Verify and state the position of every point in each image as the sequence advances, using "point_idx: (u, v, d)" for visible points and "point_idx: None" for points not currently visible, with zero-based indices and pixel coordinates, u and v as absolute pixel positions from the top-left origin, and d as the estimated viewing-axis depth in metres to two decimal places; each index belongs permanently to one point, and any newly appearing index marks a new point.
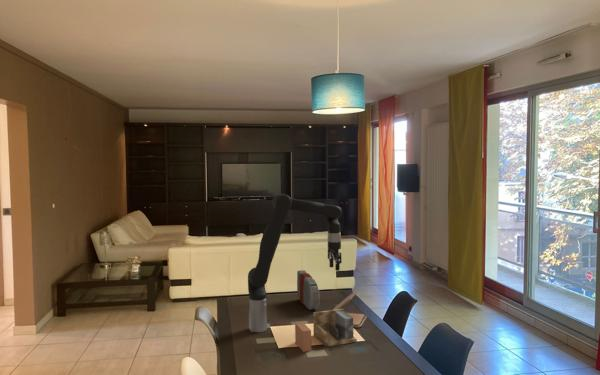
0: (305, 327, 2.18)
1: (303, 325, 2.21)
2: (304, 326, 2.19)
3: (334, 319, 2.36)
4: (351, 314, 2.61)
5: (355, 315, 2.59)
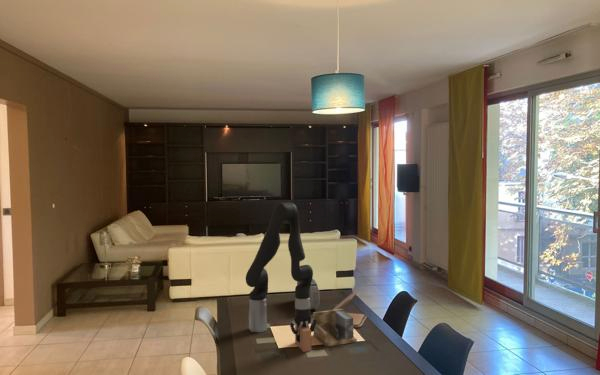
0: (305, 327, 2.18)
1: None
2: None
3: (334, 319, 2.36)
4: (351, 314, 2.61)
5: (355, 315, 2.59)
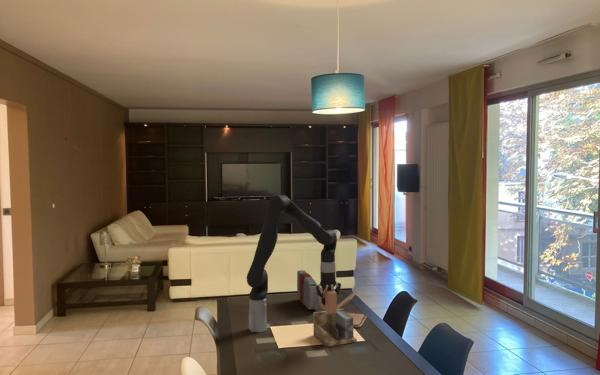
0: (330, 290, 2.23)
1: None
2: None
3: (334, 319, 2.36)
4: (351, 314, 2.61)
5: (355, 315, 2.59)
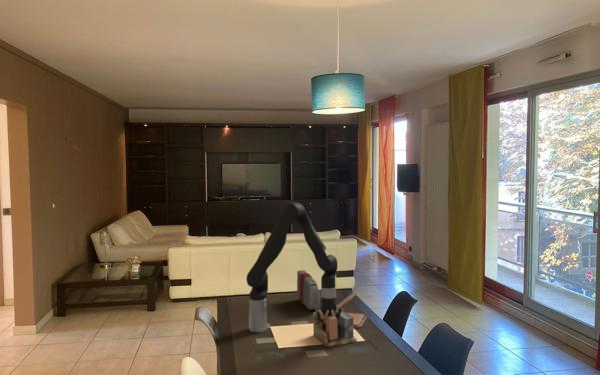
0: (331, 316, 2.24)
1: None
2: None
3: None
4: (351, 314, 2.61)
5: (355, 315, 2.59)
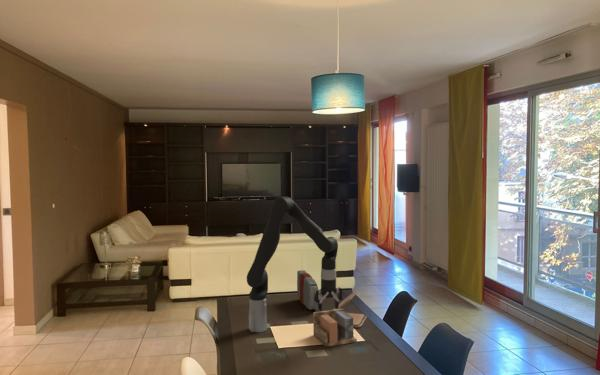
0: (331, 319, 2.24)
1: (329, 317, 2.27)
2: (330, 318, 2.25)
3: (334, 319, 2.36)
4: (351, 314, 2.61)
5: (355, 315, 2.59)
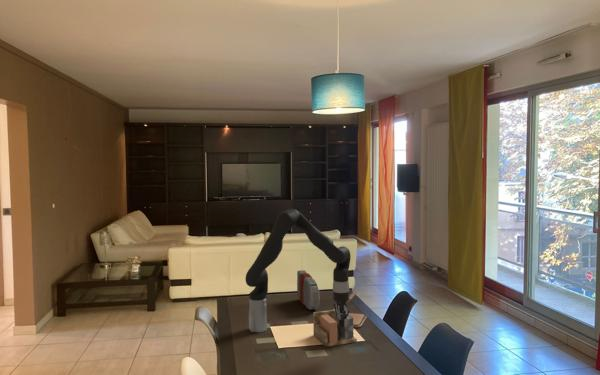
0: (331, 319, 2.24)
1: (329, 317, 2.27)
2: (330, 318, 2.25)
3: (334, 319, 2.36)
4: (351, 314, 2.61)
5: (355, 315, 2.59)
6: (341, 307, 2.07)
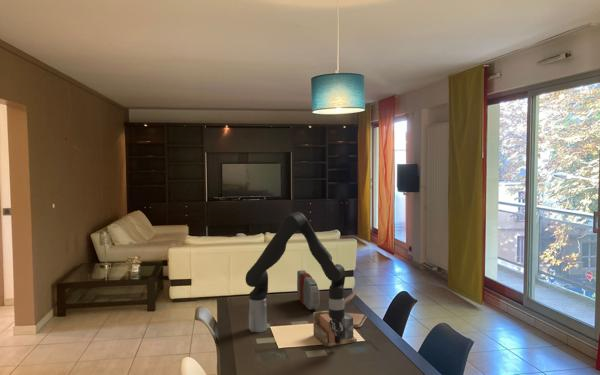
0: (330, 318, 2.25)
1: (328, 316, 2.28)
2: (329, 317, 2.27)
3: None
4: (351, 314, 2.61)
5: (355, 315, 2.59)
6: (337, 324, 2.12)
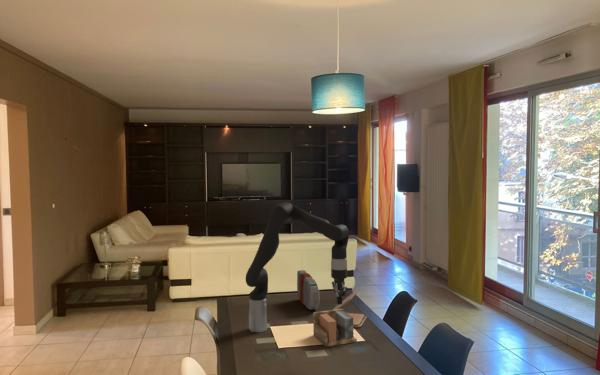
0: (330, 318, 2.25)
1: (328, 316, 2.28)
2: (329, 317, 2.27)
3: (334, 319, 2.36)
4: (351, 314, 2.61)
5: (355, 315, 2.59)
6: (339, 284, 2.08)
